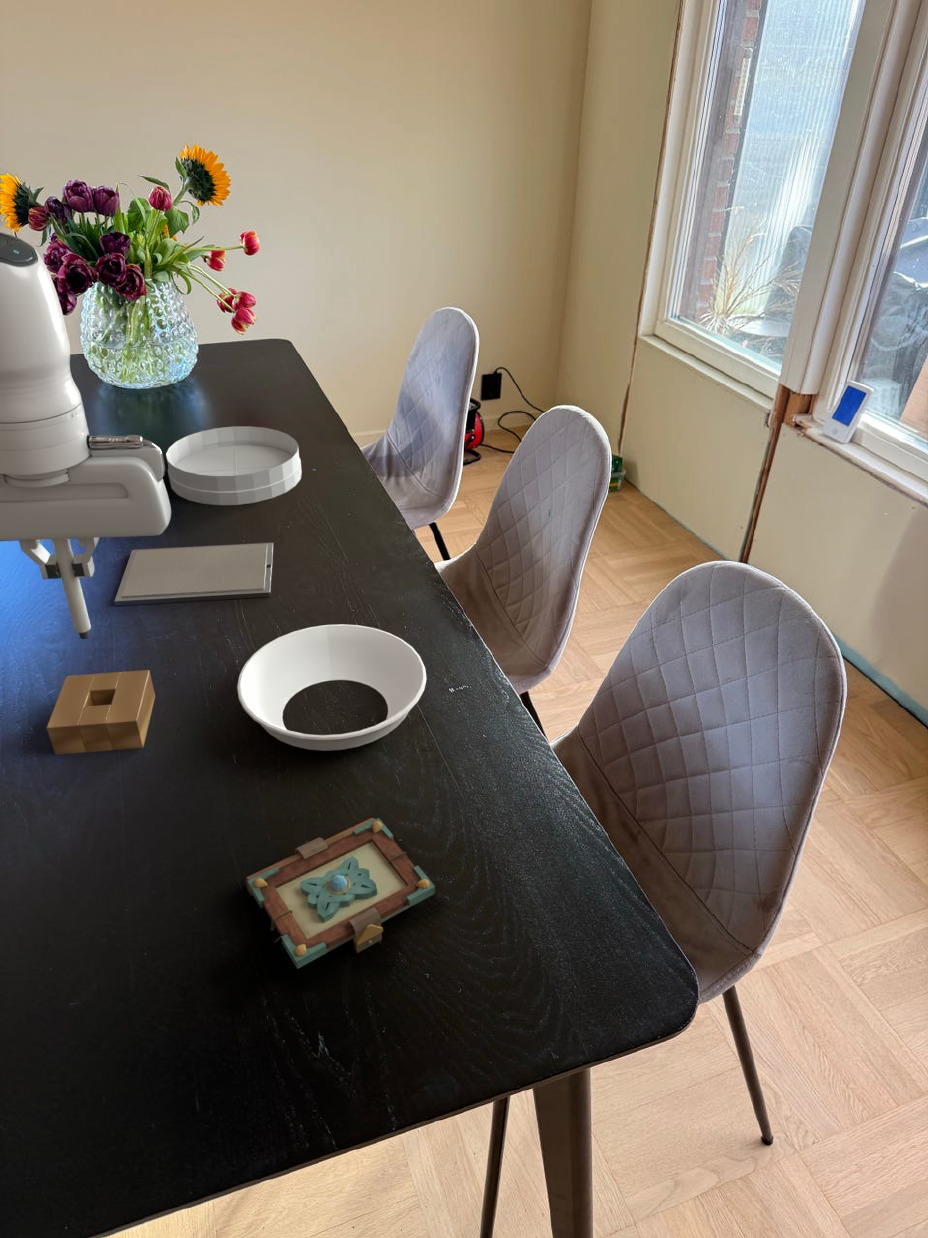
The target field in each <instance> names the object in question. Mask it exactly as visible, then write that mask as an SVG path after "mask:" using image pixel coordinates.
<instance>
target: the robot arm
mask: <svg viewBox="0 0 928 1238" xmlns="http://www.w3.org/2000/svg"><path fill="white" fill-rule="evenodd" d="M71 352H72V351H71V343H70V338H69V335H68V331H67V325H66V321H65V317H64V314H63V310H62V306H61V303H60V299H59V296H58V293H57V290H56V287H55V284H54V282H53V279H52V276H51V273H50V271H49V269H48V268H47V265H46V264H45V261H44V260H43V258H42V257H41V255H40V253H39V252H38V251H37V249H36V248H35V247H33V246H32V244H30V243H28V242H26V241H25V240H23V239H21V238H19V237H17V236H15V235H12V234H8V233H4V232H0V542H18V543H19V547H20V550H21V551H22V552H23V553H24V554H25V555H26V556H27V557H28V558H30V560H32V561H33V562H34V563H35V564H36V565H38V566H39V570H40V574H41V578H42V579H43V580H57V579H61V575H60V571H59V567H58V564H57V560H56V556H55V554H51V553H50V552H49V551H48V550H47V549H46V547H44V545H42V543H41V542H42V541H45V540H46V541H48V540H51V539H69V540H76V539H77V542H78V545H79V547H80V548H85V551H84V553H76V554H75V555H73V556H74V560H73V561H72V563H71V565H72V569H73V570H74V571H75V572H74V576H75V578H79V579H80V578H93V576H94V573H95V564H94V559H93V554H94V552H95V550H96V547H97V545H98V542H99V541H100V539H101V538H102V539H103V538H127V537H130V538H131V537H154V536H155V537H156V536H161V535H162V534H163V533H164V531H165V530H166V529H167V528H168V526H169V524H170V521H171V519H172V508H171V502H170V499H169V494H168V491H167V488H166V485H165V482H164V479H163V478H164V476H165V473H166V466H165V460H164V454H163V452H162V450H161V448H160V447H159V446H158V445H157V444H155V443H154V442H153V441H151V440H148V439H145V438H143V436H142V435H139V434H128V435H124V436H123V435H121V436H120V435H119V436H118V435H90V432H89V426H88V423H87V418H86V412H85V407H84V403H83V399H82V395H81V391H80V390H79V388H78V386H77V384H76V383H75V381H74V379H73V376H72V372H71V364H70V363H71Z"/></svg>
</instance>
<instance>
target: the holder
mask: <svg viewBox="0 0 928 1238" xmlns="http://www.w3.org/2000/svg"><path fill="white" fill-rule="evenodd" d="M155 700H156V693H155V689H154V684H153V679H152V675H151V670H149V669H144V670H130V671H129V670H128V671H117V672H116V671H115V672H100V673H90V674H89V673H88V674H87V673H85V674H74V675H66V676H65V678H64V682H63V684H62V686H61V689H60V691H59V694H58V696H57V699H56V702H55V704H54V707H53V710H52V713H51V714H50V715H51V716H50V718H49V720H48V723H47V726H46V731H47V734H48V737H49V739H50V743H51V746H52V749H53V752H54V755H55V756H59V755H68V754H69V755H70V754H72V755H73V754H82V753H83V754H85V753H97V752H106V751H107V752H108V751H119V750H131V749H143V748H144V746H145V741H146V738H147V733H148V730H149V729H148V728H149V725H150V722H151V721H150V720H151V716H152V711H153V708H154V703H155Z"/></svg>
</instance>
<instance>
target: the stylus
mask: <svg viewBox="0 0 928 1238" xmlns="http://www.w3.org/2000/svg"><path fill="white" fill-rule="evenodd" d="M70 540H71V539H51V544H52V545H51V546H52V548H53V552H54V555H55V556H56V560H57V564H58V567H59V571H60V575H61V578H60V579H61V582H62V586H63V591H64V594H65V598H66V601H67V605H68V610H69V613H70V617H71V620H72V625H73V628H74V629H73V630H74V631H75V632H76V633H78V634H79V639H81V640H88V639H89V638H90V637H91V635H90V630H91V629H92V626H91V621H90V617H89V614H88V613H89V612H88V608H87V605H86V601H85V597H84V593H83V589H82V585H81V581H80V578H75V576H74V572H75V571H74V570H73V569H72V565H71V563H72V561H73V560H74V556H75V555H74V552H73V548H72V545H71V541H70Z"/></svg>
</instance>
